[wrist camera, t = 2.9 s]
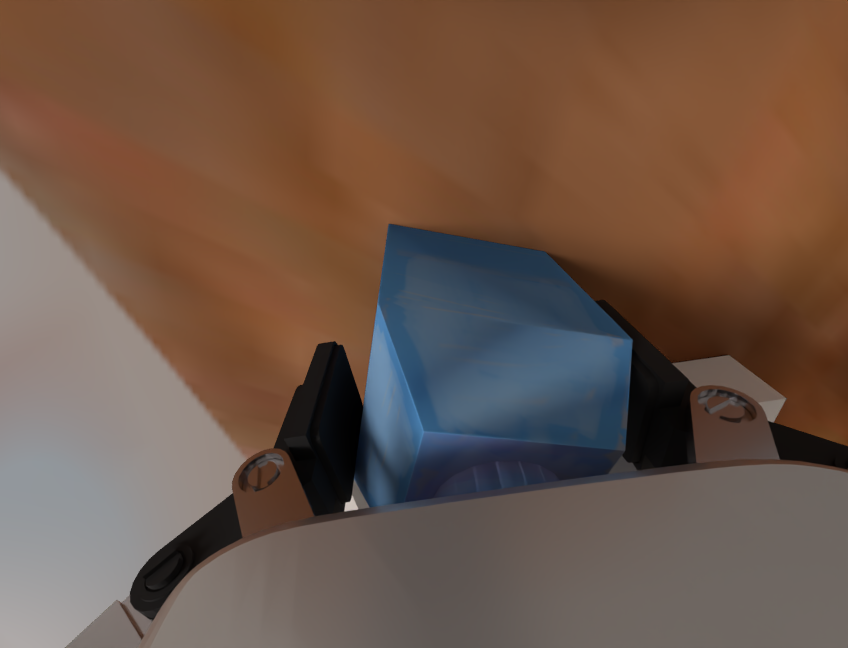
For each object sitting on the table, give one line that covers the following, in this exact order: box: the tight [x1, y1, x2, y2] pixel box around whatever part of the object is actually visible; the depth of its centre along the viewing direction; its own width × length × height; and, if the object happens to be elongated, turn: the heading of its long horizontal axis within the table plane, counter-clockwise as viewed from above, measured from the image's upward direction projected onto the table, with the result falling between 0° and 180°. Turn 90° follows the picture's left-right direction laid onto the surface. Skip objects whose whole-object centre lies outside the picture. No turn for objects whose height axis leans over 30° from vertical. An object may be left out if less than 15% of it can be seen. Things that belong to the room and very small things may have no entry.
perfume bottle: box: [354, 224, 633, 507], centre depth 10 cm, size 6×6×12 cm
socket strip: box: [344, 355, 787, 512], centre depth 19 cm, size 20×10×3 cm, turn 99°
